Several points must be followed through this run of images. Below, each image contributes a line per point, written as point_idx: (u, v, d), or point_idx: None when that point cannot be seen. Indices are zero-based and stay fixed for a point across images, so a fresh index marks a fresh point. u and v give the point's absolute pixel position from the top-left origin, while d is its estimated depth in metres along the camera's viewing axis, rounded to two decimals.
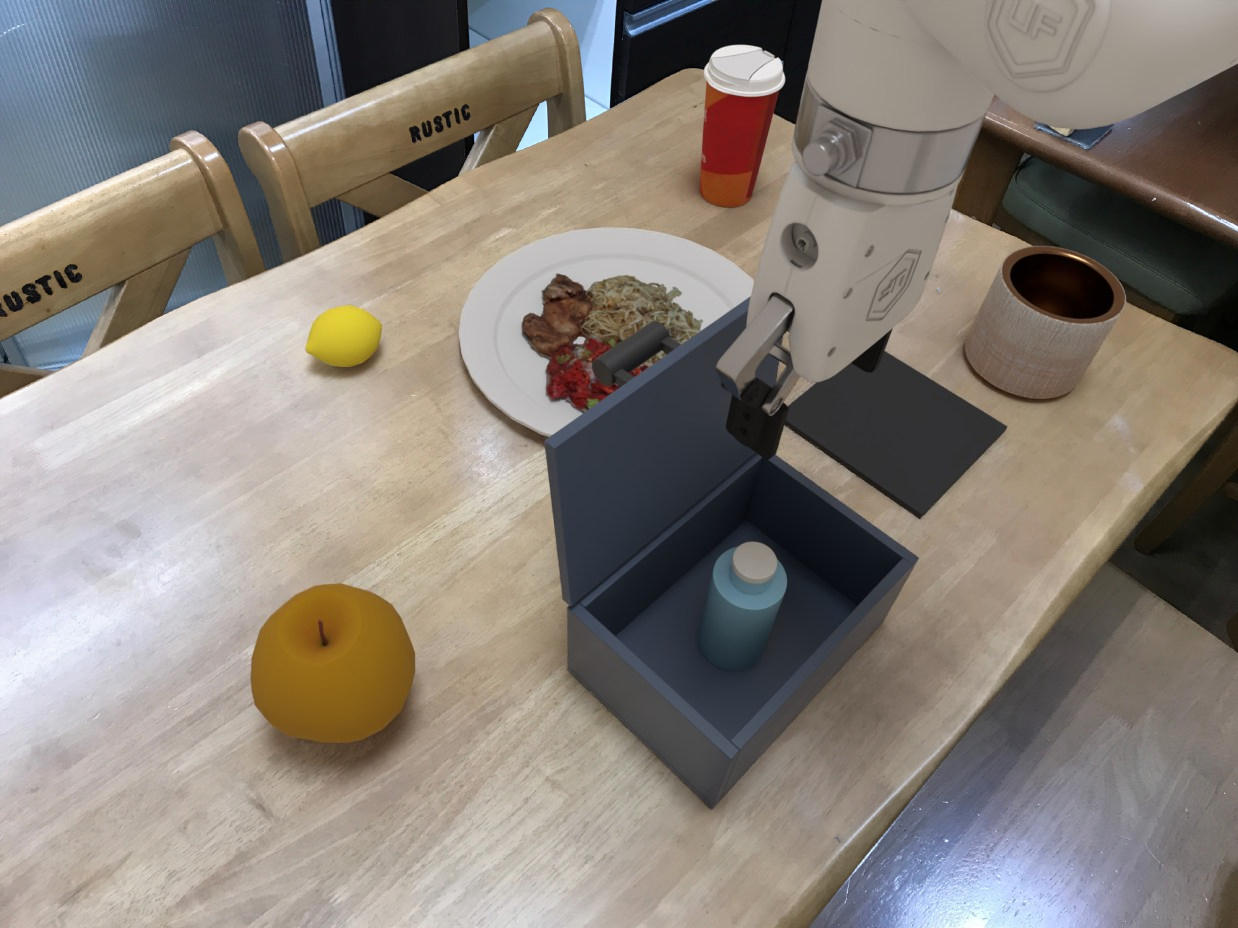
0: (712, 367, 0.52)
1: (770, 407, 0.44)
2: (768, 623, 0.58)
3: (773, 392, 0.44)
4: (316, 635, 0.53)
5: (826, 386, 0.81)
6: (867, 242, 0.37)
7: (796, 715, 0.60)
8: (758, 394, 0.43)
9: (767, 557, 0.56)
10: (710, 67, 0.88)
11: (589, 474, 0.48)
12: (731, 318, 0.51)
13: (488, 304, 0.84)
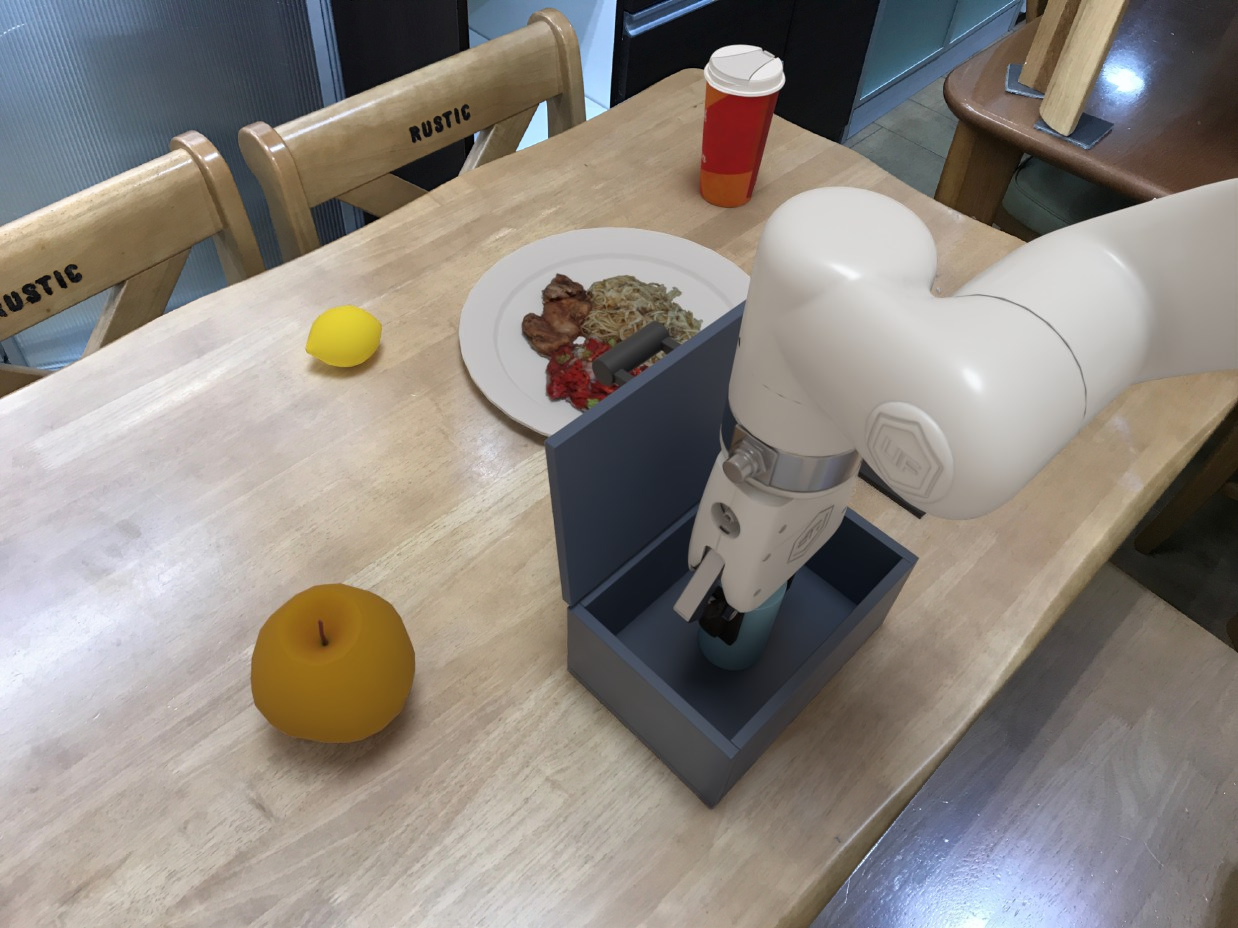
0: (712, 367, 0.52)
1: (727, 619, 0.54)
2: (768, 623, 0.58)
3: (727, 609, 0.53)
4: (316, 635, 0.53)
5: None
6: (780, 524, 0.45)
7: (796, 715, 0.60)
8: (717, 611, 0.52)
9: None
10: (710, 67, 0.88)
11: (589, 474, 0.48)
12: (731, 318, 0.51)
13: (488, 303, 0.84)
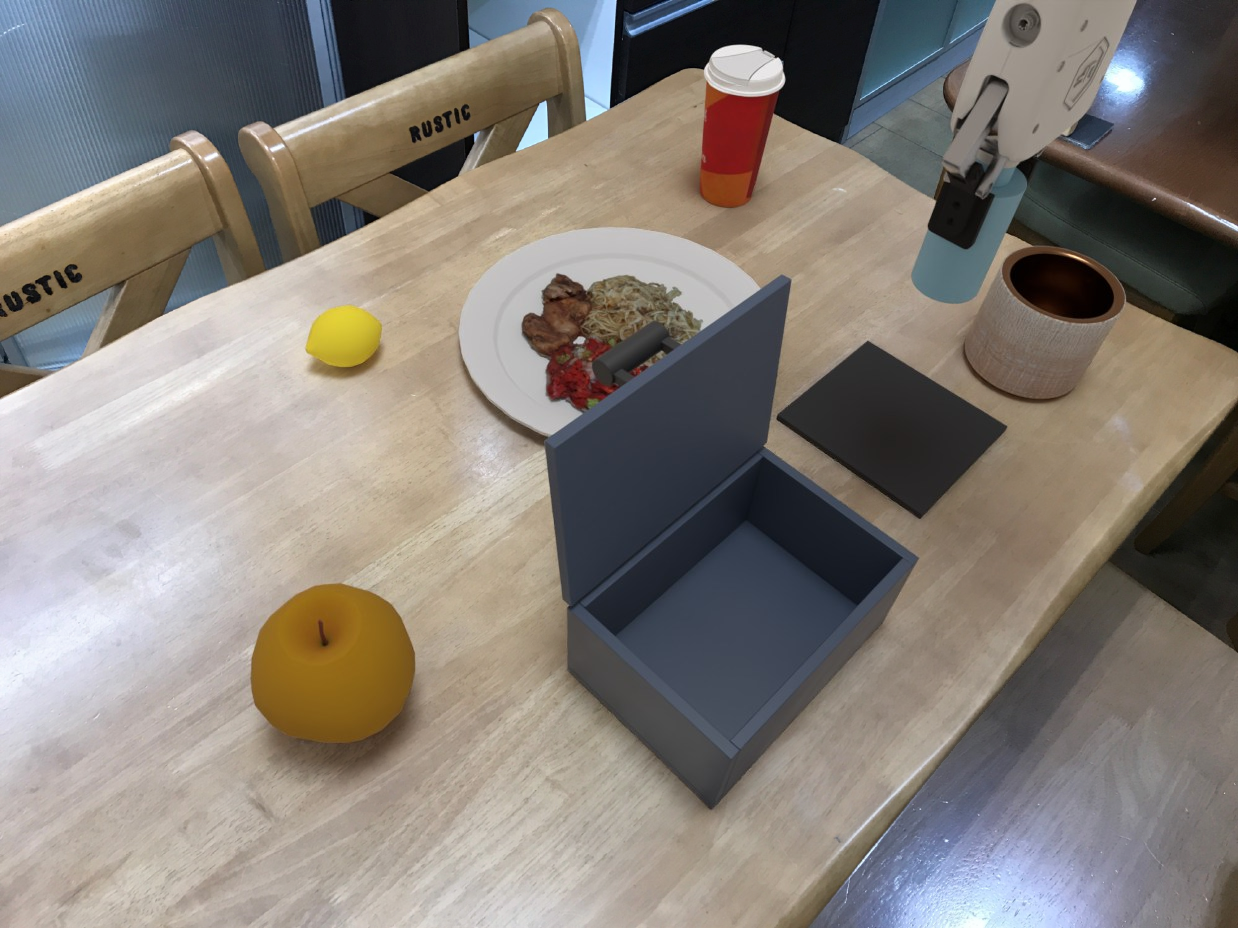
0: (712, 367, 0.52)
1: (982, 193, 0.53)
2: (1004, 229, 0.58)
3: (984, 180, 0.53)
4: (316, 635, 0.53)
5: (826, 386, 0.81)
6: (1085, 15, 0.45)
7: (796, 715, 0.60)
8: (980, 173, 0.52)
9: None
10: (710, 67, 0.88)
11: (589, 474, 0.48)
12: (731, 318, 0.51)
13: (488, 303, 0.84)
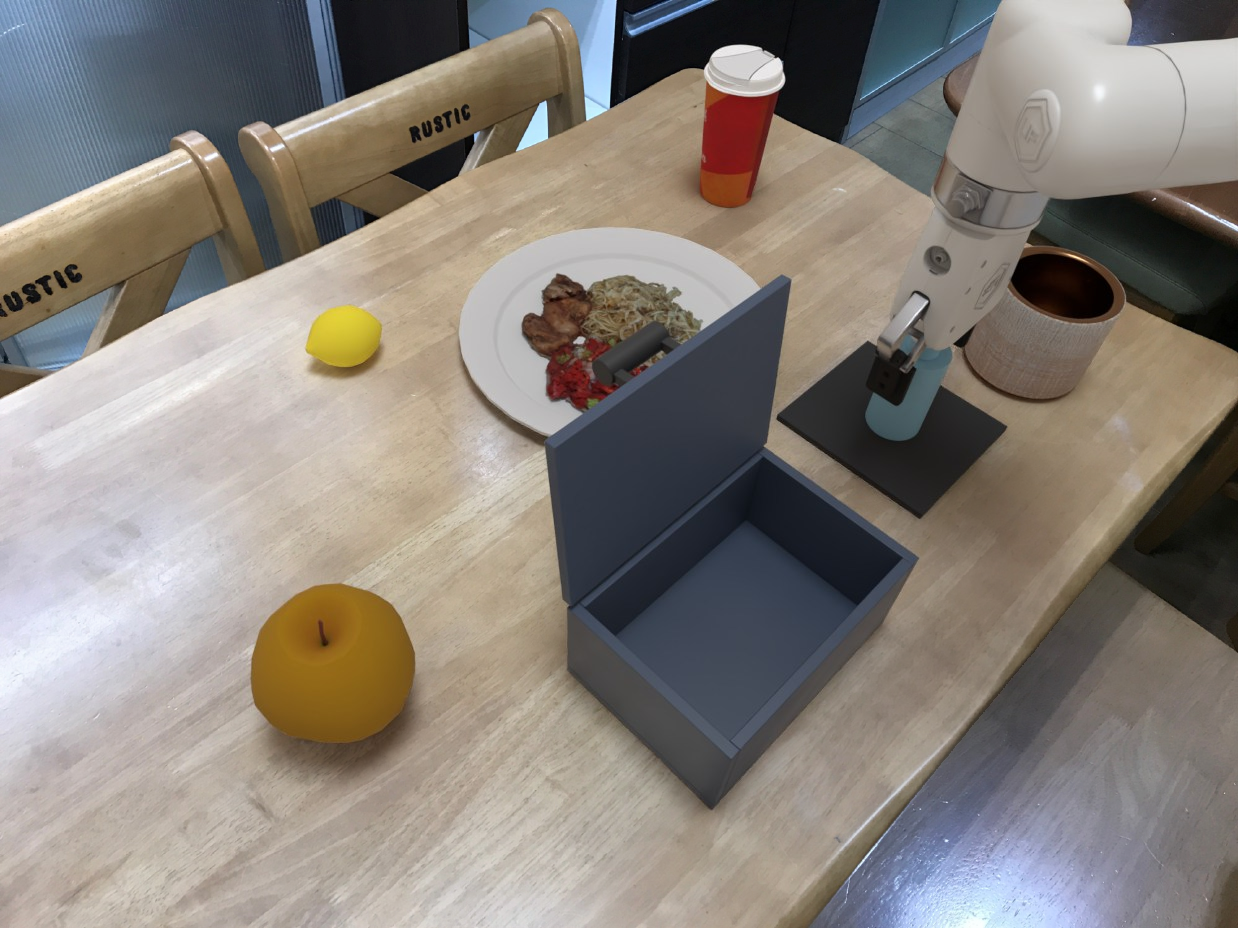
0: (712, 367, 0.52)
1: (906, 367, 0.66)
2: (935, 389, 0.72)
3: (909, 357, 0.66)
4: (316, 635, 0.53)
5: (826, 386, 0.81)
6: (983, 258, 0.59)
7: (796, 715, 0.60)
8: (901, 358, 0.64)
9: None
10: (710, 67, 0.88)
11: (589, 474, 0.48)
12: (731, 318, 0.51)
13: (488, 303, 0.84)
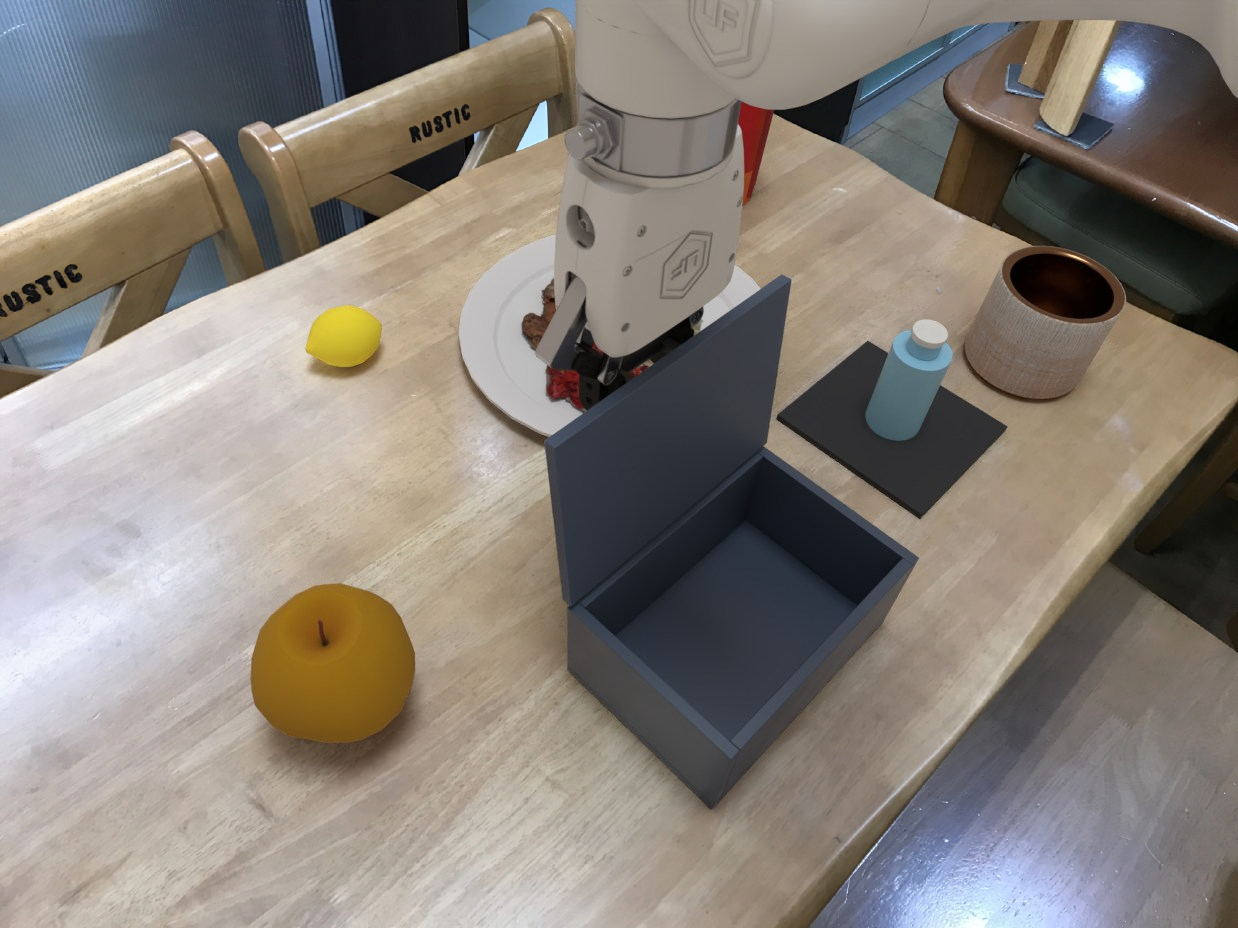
0: (712, 367, 0.52)
1: (603, 380, 0.49)
2: (935, 389, 0.72)
3: (602, 367, 0.48)
4: (316, 635, 0.53)
5: (826, 386, 0.81)
6: (636, 222, 0.40)
7: (796, 715, 0.60)
8: (588, 364, 0.47)
9: (940, 329, 0.70)
10: None
11: (589, 474, 0.48)
12: (731, 318, 0.51)
13: (488, 303, 0.84)
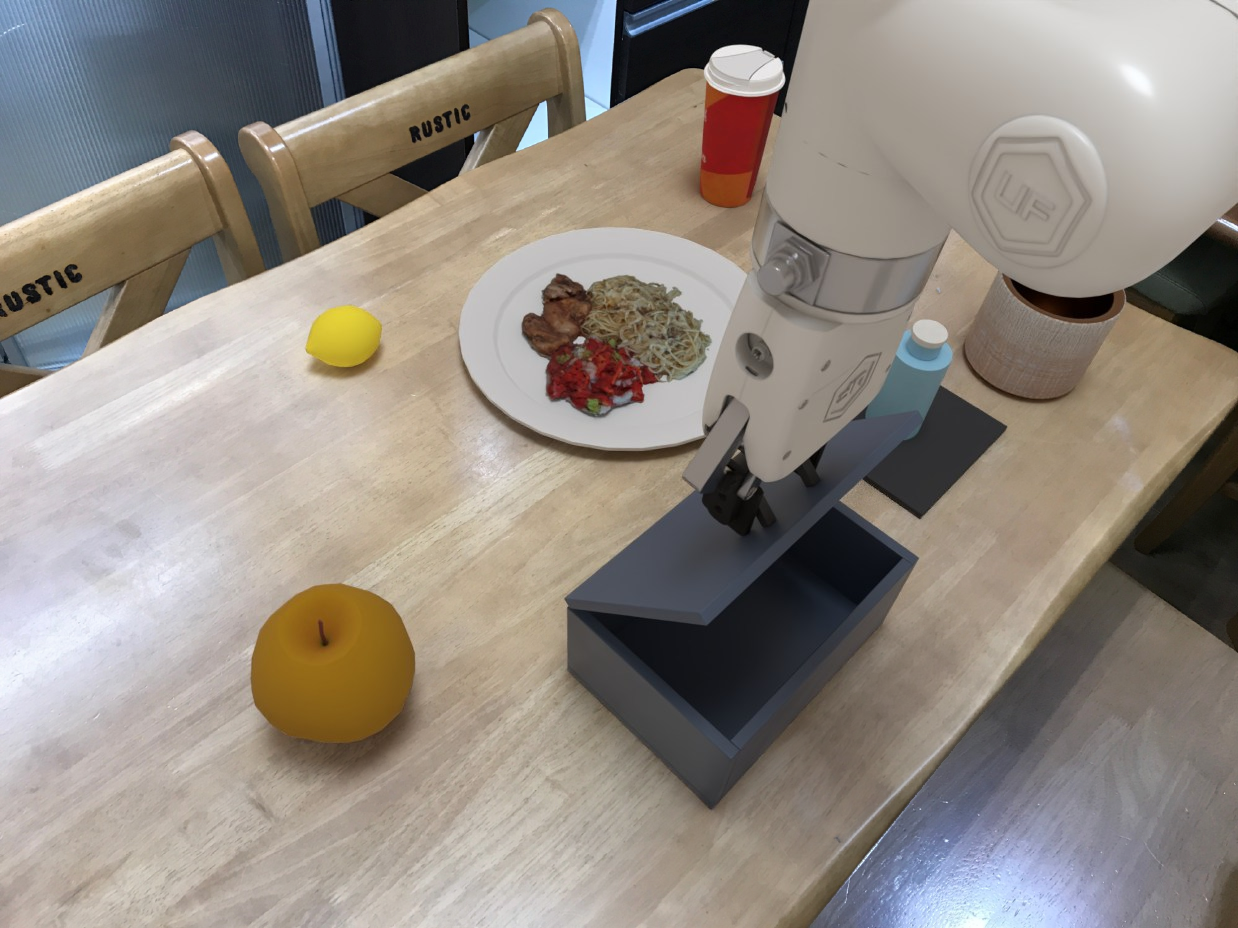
0: None
1: (744, 497, 0.45)
2: (935, 389, 0.72)
3: (744, 484, 0.45)
4: (316, 635, 0.53)
5: None
6: (823, 358, 0.36)
7: (796, 715, 0.60)
8: (734, 484, 0.43)
9: (940, 329, 0.70)
10: (710, 67, 0.88)
11: None
12: (869, 467, 0.50)
13: (488, 303, 0.84)
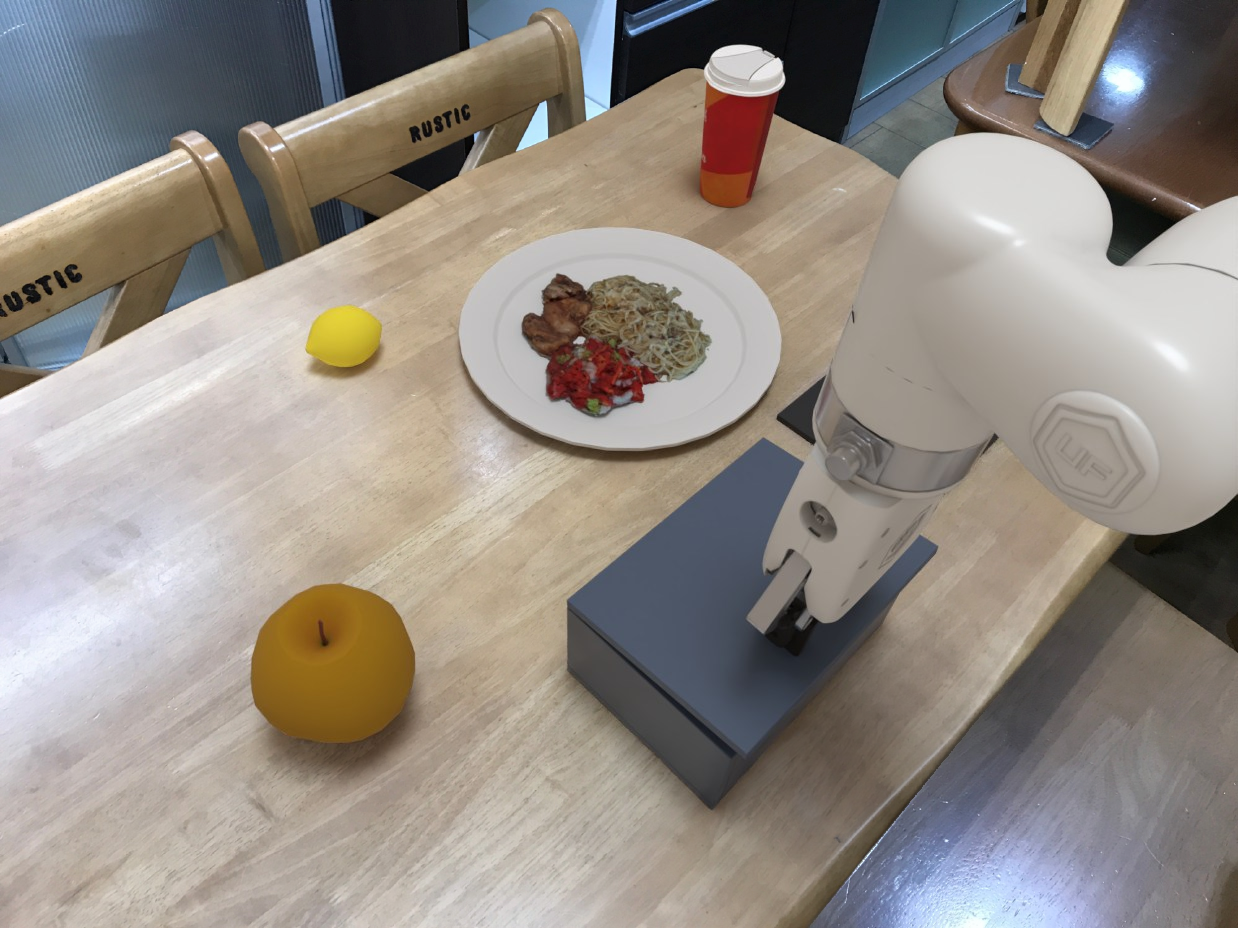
0: None
1: (801, 629, 0.48)
2: None
3: (801, 618, 0.48)
4: (316, 635, 0.53)
5: None
6: (884, 528, 0.39)
7: (796, 715, 0.60)
8: (793, 621, 0.46)
9: None
10: (710, 67, 0.88)
11: None
12: (889, 602, 0.55)
13: (488, 303, 0.84)
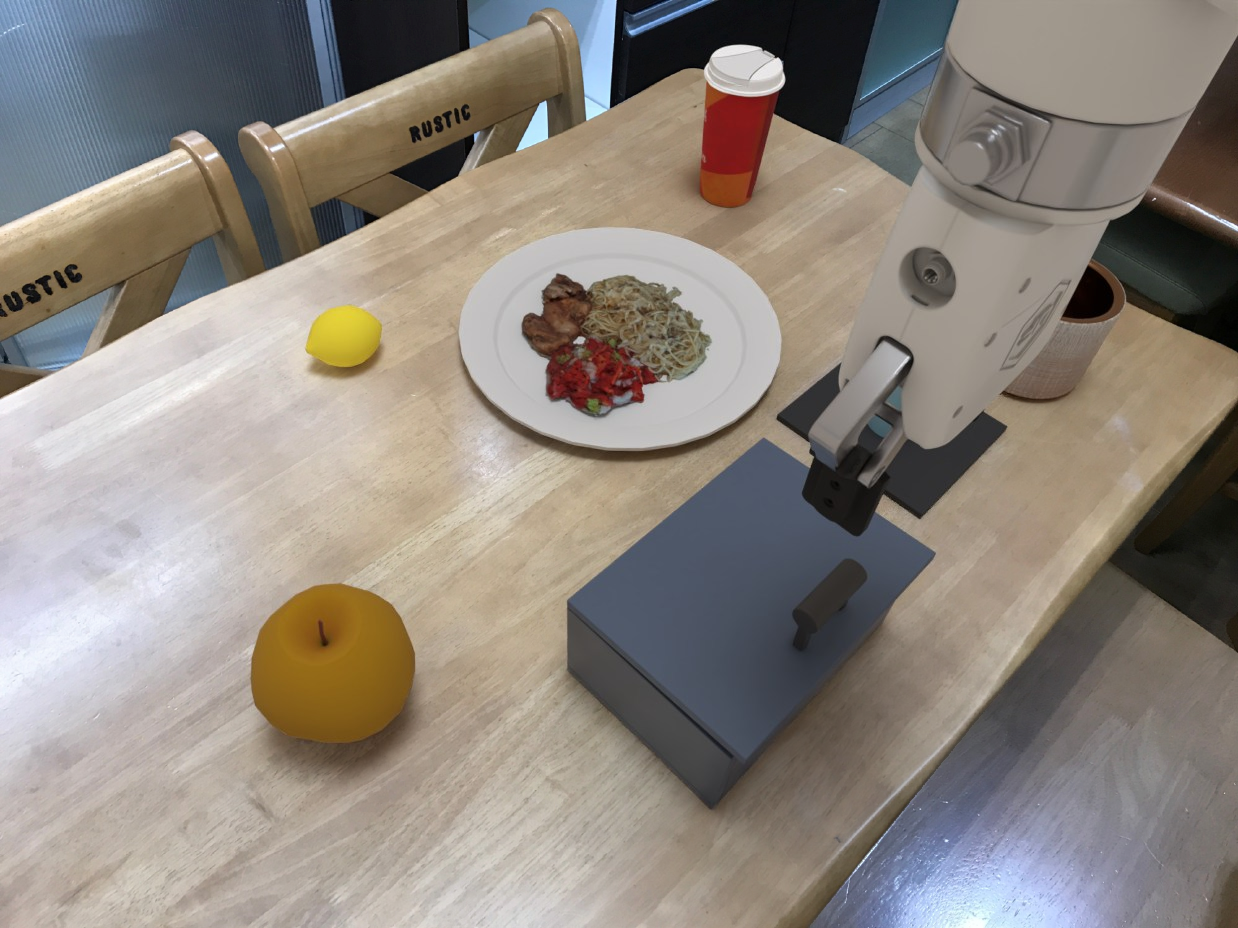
0: None
1: (870, 478, 0.34)
2: None
3: (874, 460, 0.34)
4: (316, 635, 0.53)
5: (826, 386, 0.81)
6: (1025, 274, 0.28)
7: (796, 715, 0.60)
8: (859, 464, 0.33)
9: None
10: (710, 67, 0.88)
11: None
12: (887, 608, 0.56)
13: (488, 303, 0.84)
